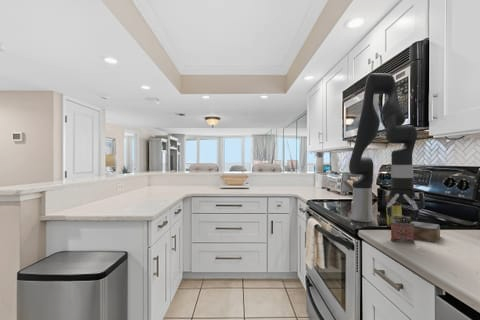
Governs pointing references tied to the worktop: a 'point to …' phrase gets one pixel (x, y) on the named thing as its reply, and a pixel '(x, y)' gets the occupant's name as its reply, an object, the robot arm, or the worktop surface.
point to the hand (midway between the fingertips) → (402, 218)
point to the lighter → (402, 230)
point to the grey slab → (426, 231)
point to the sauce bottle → (393, 209)
